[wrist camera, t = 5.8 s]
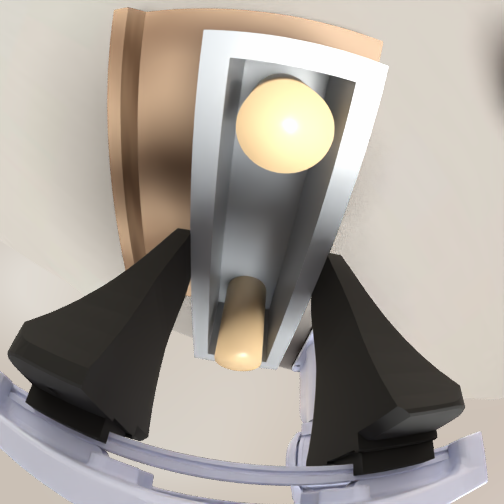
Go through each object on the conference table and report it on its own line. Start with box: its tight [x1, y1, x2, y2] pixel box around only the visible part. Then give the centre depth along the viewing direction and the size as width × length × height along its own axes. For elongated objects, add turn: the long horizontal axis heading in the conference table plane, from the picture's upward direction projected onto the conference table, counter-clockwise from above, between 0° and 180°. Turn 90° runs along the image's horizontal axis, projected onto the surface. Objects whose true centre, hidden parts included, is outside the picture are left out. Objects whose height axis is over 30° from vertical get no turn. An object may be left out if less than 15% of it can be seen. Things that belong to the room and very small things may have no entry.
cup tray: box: [190, 30, 389, 371], centre depth 12 cm, size 16×5×6 cm, turn 172°
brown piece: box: [107, 7, 383, 296], centre depth 16 cm, size 20×13×4 cm, turn 172°
